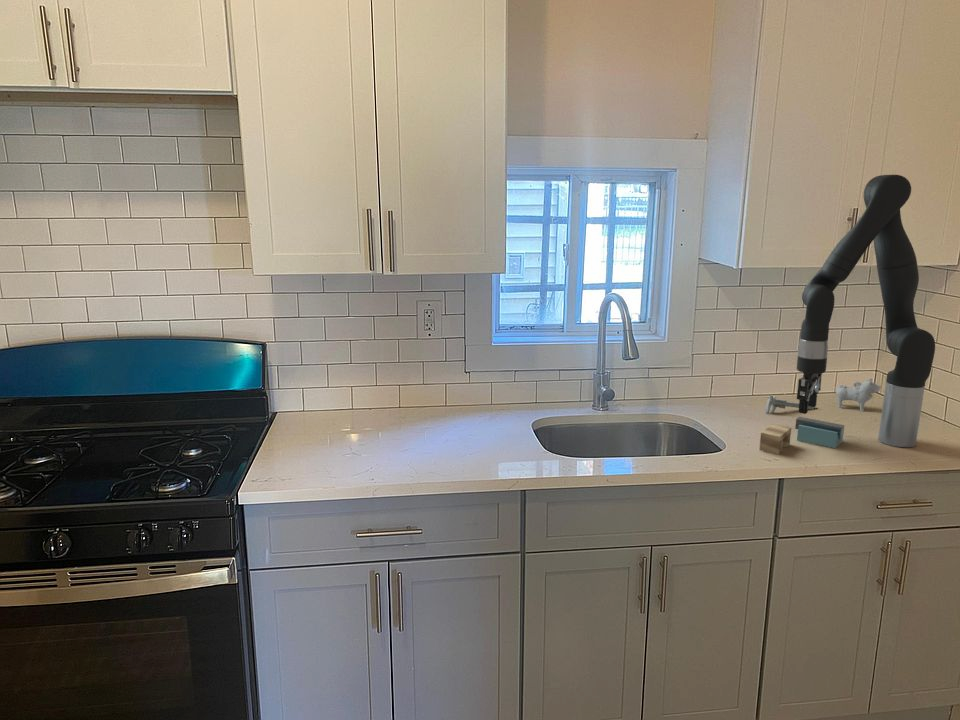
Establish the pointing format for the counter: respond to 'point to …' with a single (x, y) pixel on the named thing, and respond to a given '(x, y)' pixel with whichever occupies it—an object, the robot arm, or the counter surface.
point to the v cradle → (818, 436)
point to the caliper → (780, 404)
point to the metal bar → (820, 425)
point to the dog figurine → (857, 392)
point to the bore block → (775, 438)
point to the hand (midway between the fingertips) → (807, 409)
